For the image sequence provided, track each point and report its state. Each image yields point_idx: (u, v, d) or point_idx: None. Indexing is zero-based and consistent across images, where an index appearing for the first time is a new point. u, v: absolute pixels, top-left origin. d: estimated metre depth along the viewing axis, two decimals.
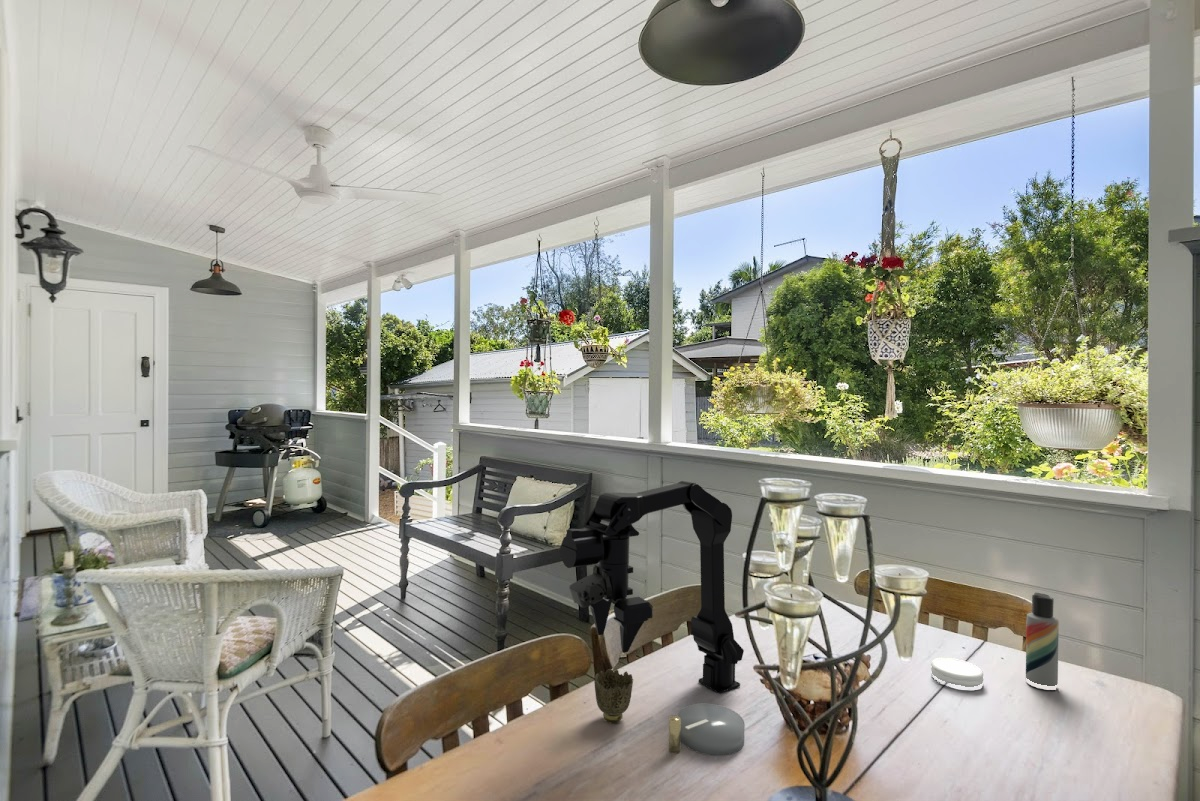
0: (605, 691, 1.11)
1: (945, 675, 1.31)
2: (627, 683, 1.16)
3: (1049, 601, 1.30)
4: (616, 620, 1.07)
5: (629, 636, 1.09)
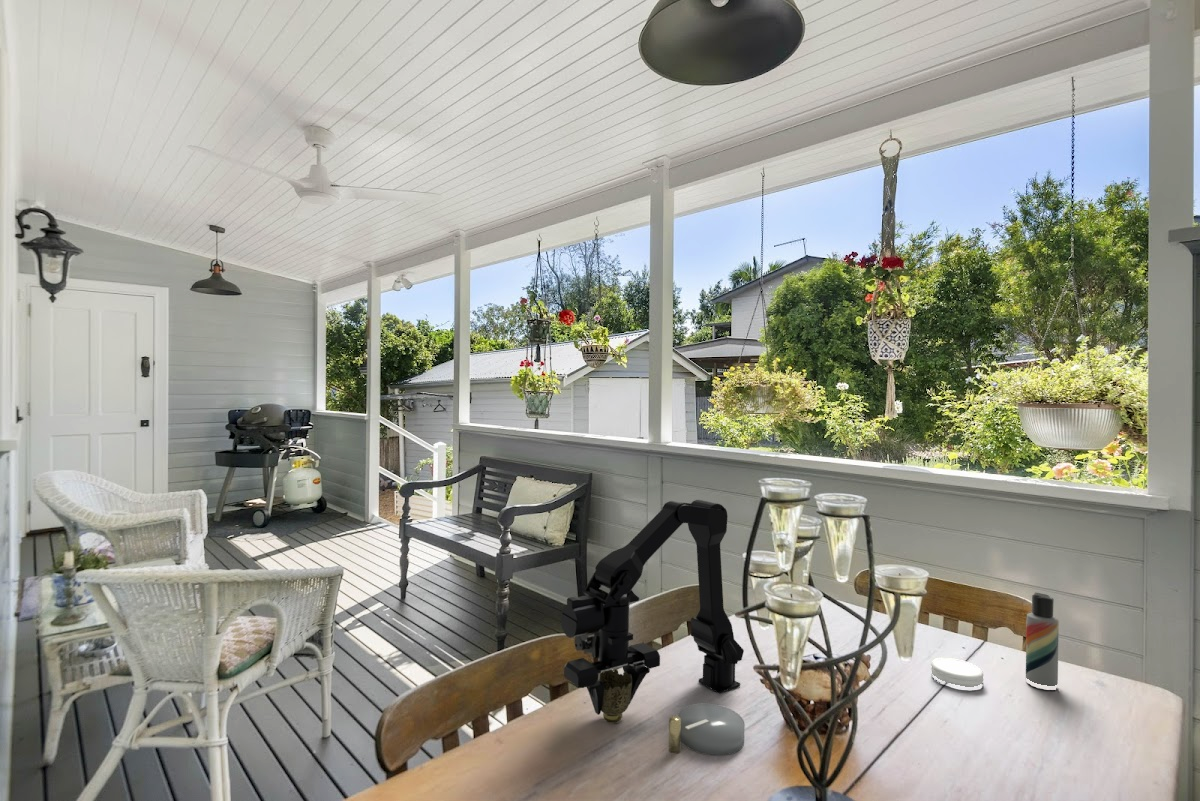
0: (605, 691, 1.11)
1: (945, 675, 1.31)
2: (627, 683, 1.16)
3: (1049, 601, 1.30)
4: None
5: (594, 698, 1.12)
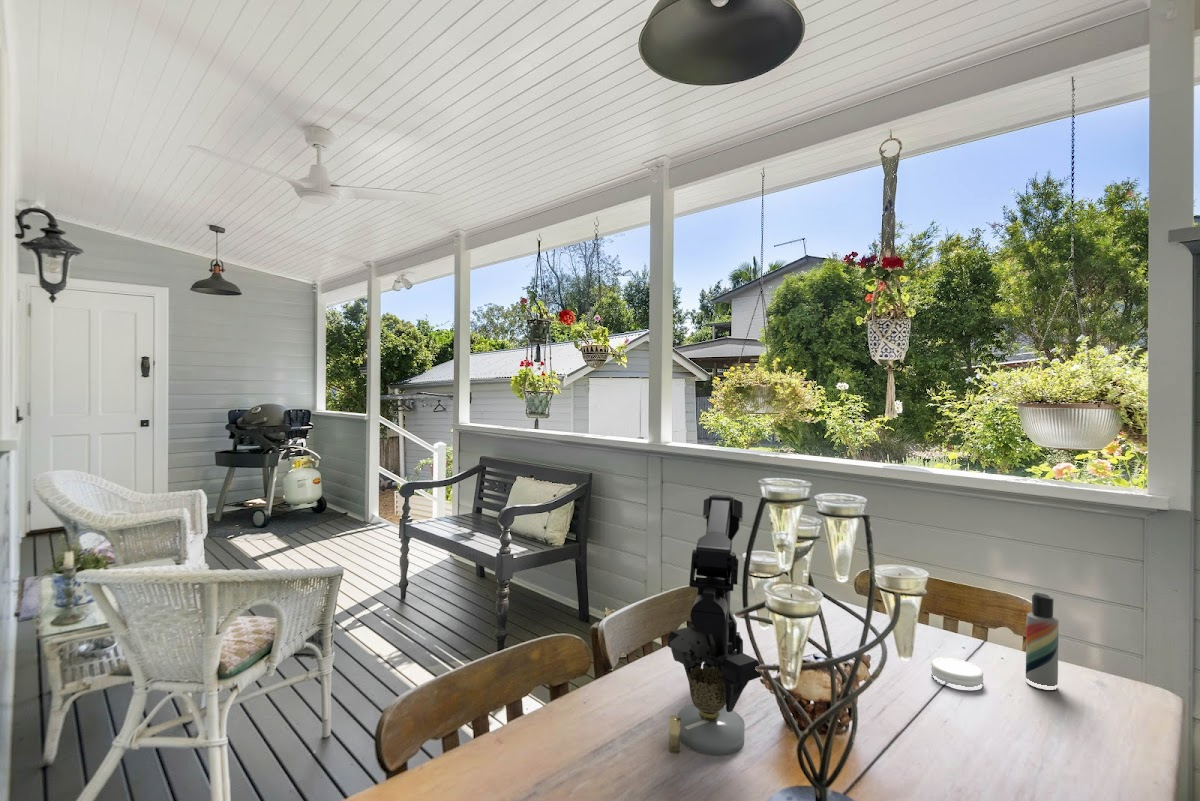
0: None
1: (945, 675, 1.31)
2: (696, 677, 1.13)
3: (1049, 601, 1.30)
4: (724, 680, 1.02)
5: (734, 695, 1.05)
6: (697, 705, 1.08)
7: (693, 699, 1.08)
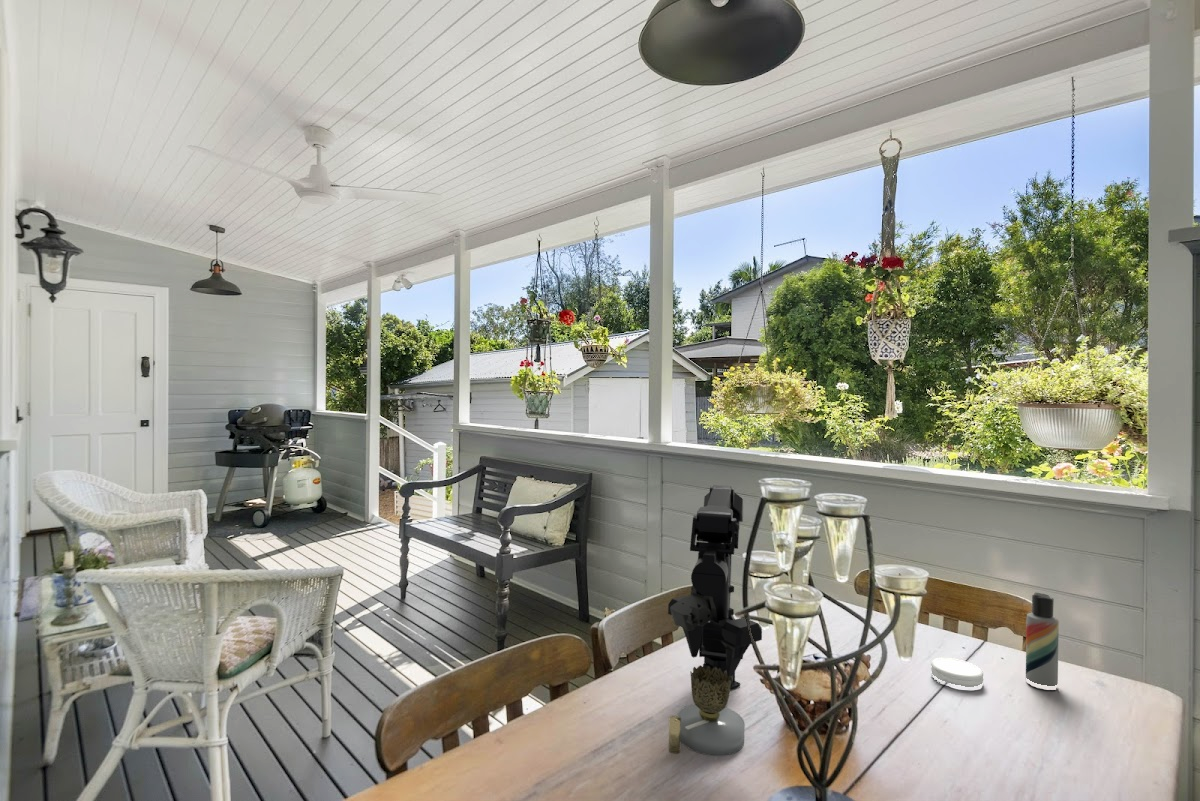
0: (730, 684, 1.08)
1: (945, 675, 1.31)
2: (698, 677, 1.13)
3: (1049, 601, 1.30)
4: (725, 643, 1.02)
5: (735, 659, 1.05)
6: (698, 704, 1.08)
7: (694, 698, 1.09)
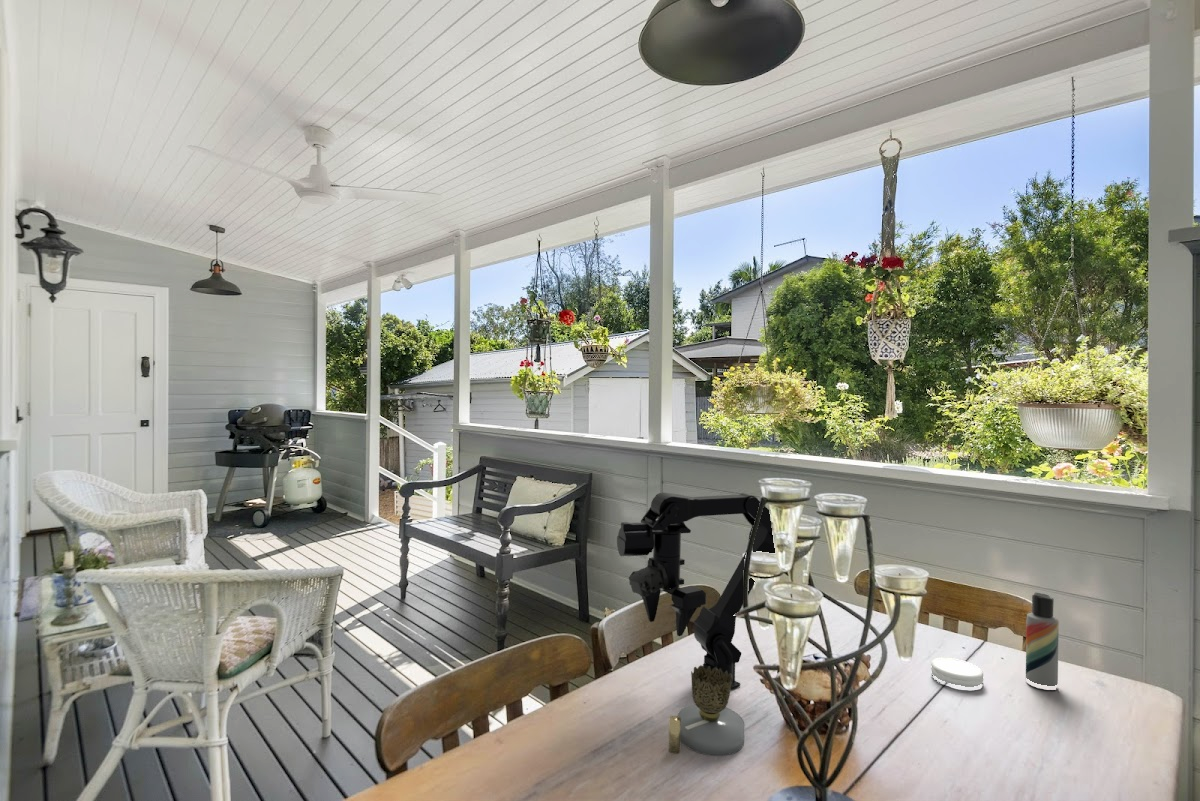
0: (731, 683, 1.08)
1: (945, 675, 1.31)
2: (698, 677, 1.13)
3: (1049, 601, 1.30)
4: (674, 607, 1.20)
5: (684, 621, 1.22)
6: (698, 704, 1.08)
7: (695, 698, 1.09)
